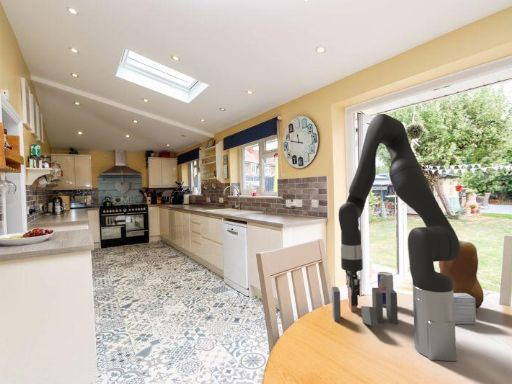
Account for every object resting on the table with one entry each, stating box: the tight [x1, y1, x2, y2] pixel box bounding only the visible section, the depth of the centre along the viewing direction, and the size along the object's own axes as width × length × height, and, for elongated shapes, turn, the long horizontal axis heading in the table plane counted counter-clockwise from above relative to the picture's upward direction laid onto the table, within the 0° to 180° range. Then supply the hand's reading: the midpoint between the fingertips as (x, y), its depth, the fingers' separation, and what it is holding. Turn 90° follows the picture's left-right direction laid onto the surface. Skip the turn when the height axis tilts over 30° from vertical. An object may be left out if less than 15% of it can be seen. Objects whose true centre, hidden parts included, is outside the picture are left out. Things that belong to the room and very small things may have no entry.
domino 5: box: [385, 288, 399, 325], centre depth 93 cm, size 5×2×10 cm, turn 172°
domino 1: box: [331, 286, 342, 323], centre depth 96 cm, size 5×2×10 cm, turn 172°
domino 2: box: [347, 284, 358, 313], centre depth 103 cm, size 5×2×10 cm, turn 171°
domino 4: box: [371, 287, 384, 324], centre depth 94 cm, size 5×2×10 cm, turn 172°
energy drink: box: [377, 271, 394, 308], centre depth 106 cm, size 5×5×12 cm
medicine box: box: [453, 293, 477, 325], centre depth 91 cm, size 8×4×9 cm, turn 84°
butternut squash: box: [438, 239, 485, 310], centre depth 101 cm, size 14×13×25 cm
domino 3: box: [360, 305, 379, 326], centre depth 88 cm, size 5×2×10 cm
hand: (352, 301), depth 103 cm, fingers open, 5 cm apart
